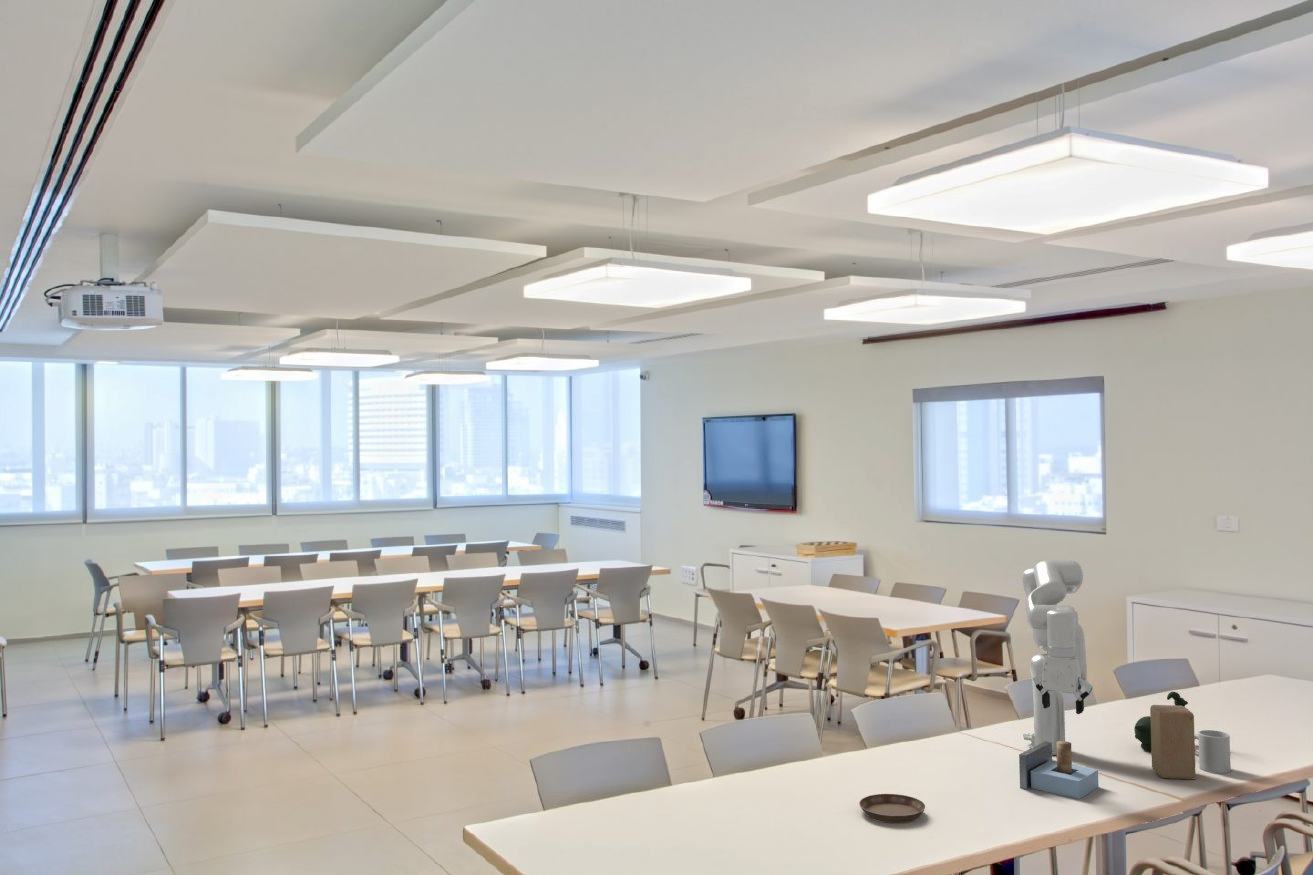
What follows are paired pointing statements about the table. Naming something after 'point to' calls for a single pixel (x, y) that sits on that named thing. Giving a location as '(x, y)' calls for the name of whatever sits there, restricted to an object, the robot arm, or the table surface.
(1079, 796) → the socket block
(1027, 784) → the backstop wall
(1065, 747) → the dowel
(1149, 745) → the toy figurine
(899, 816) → the plant saucer
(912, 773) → the table surface
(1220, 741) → the mug
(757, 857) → the table surface
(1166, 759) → the wooden block
